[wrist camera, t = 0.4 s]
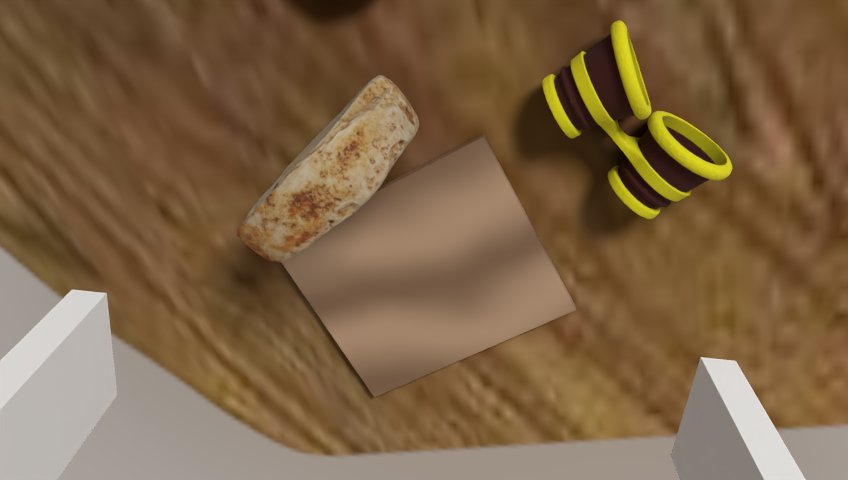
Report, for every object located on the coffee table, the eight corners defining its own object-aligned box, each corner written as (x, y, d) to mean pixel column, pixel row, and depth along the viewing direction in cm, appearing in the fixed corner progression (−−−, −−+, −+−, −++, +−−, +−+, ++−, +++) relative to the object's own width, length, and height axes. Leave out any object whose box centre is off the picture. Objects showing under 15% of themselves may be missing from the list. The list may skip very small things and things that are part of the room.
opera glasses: (536, 71, 39) (528, 104, 35) (618, 6, 37) (621, 34, 33) (642, 198, 42) (647, 243, 38) (727, 145, 39) (741, 188, 35)
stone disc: (307, 225, 43) (263, 309, 34) (260, 180, 42) (201, 255, 33) (437, 107, 39) (427, 165, 30) (389, 55, 38) (364, 99, 29)
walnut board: (272, 241, 43) (270, 246, 43) (483, 133, 40) (483, 136, 39) (375, 391, 47) (374, 397, 47) (575, 304, 44) (576, 309, 43)
